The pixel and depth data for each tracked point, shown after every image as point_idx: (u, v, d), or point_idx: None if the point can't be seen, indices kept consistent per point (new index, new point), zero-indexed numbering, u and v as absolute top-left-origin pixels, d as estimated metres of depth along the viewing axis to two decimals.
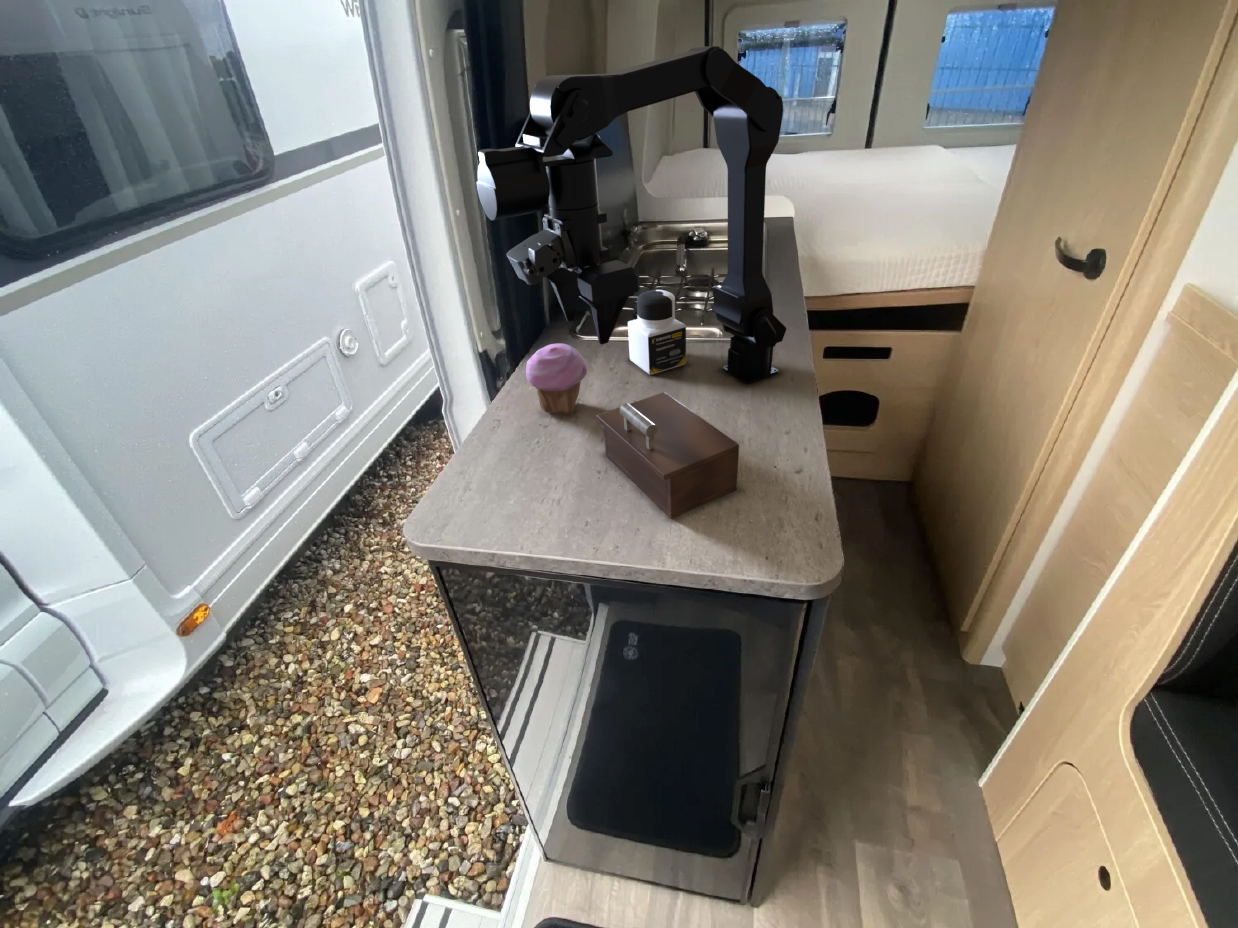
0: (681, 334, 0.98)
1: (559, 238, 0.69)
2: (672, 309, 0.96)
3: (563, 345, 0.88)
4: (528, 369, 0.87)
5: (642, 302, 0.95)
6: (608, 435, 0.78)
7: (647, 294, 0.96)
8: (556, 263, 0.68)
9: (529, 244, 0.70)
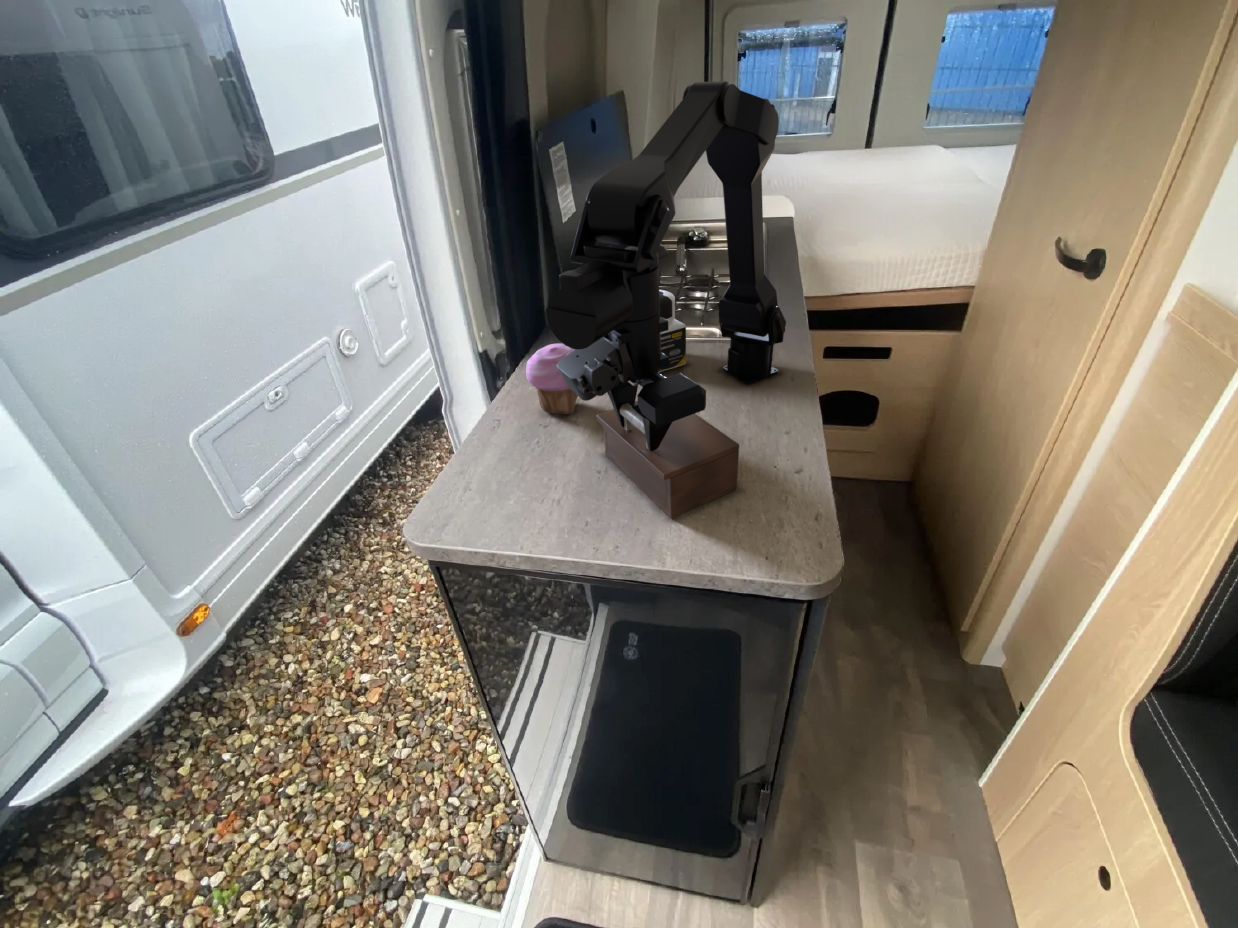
0: (681, 334, 0.98)
1: (616, 351, 0.62)
2: (672, 309, 0.96)
3: (563, 345, 0.88)
4: (528, 369, 0.87)
5: None
6: (608, 435, 0.78)
7: None
8: (614, 380, 0.61)
9: (582, 355, 0.63)
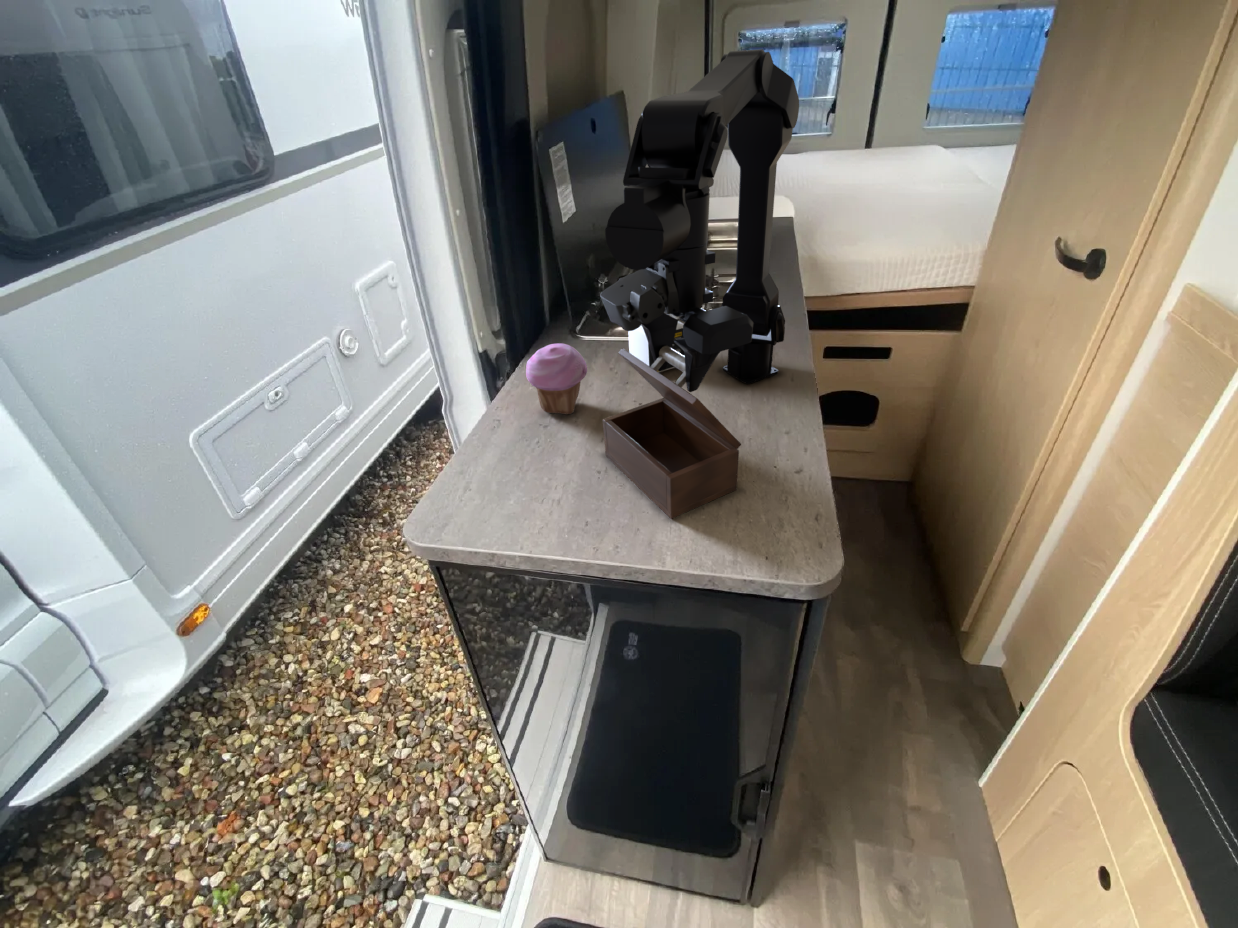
0: (681, 334, 0.98)
1: (663, 280, 0.61)
2: None
3: (563, 345, 0.88)
4: (528, 369, 0.87)
5: None
6: (608, 435, 0.78)
7: None
8: (660, 308, 0.60)
9: (627, 285, 0.62)
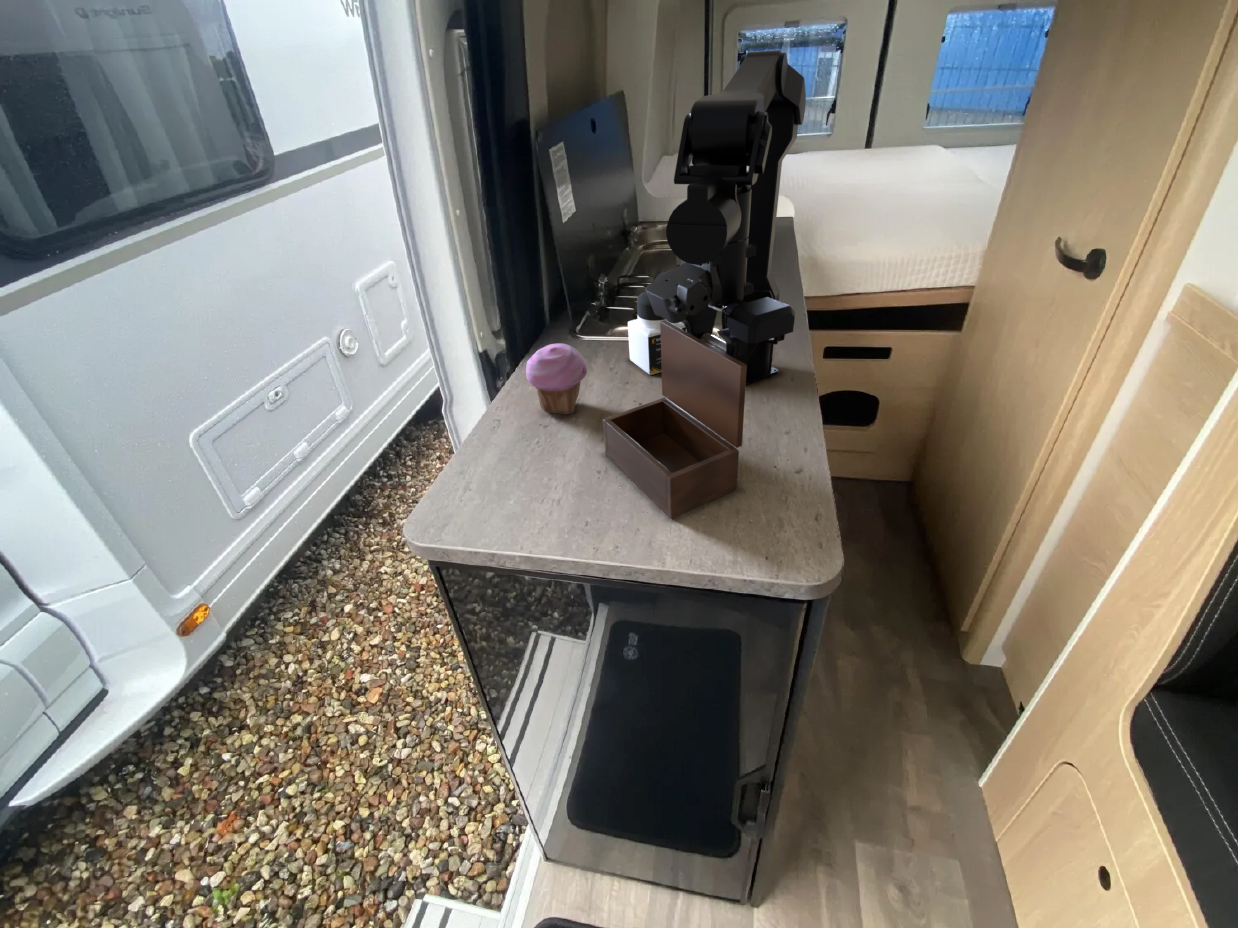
0: None
1: (707, 273, 0.63)
2: None
3: (563, 345, 0.88)
4: (528, 369, 0.87)
5: (642, 302, 0.95)
6: (608, 435, 0.78)
7: (647, 294, 0.96)
8: (706, 300, 0.62)
9: (672, 279, 0.64)
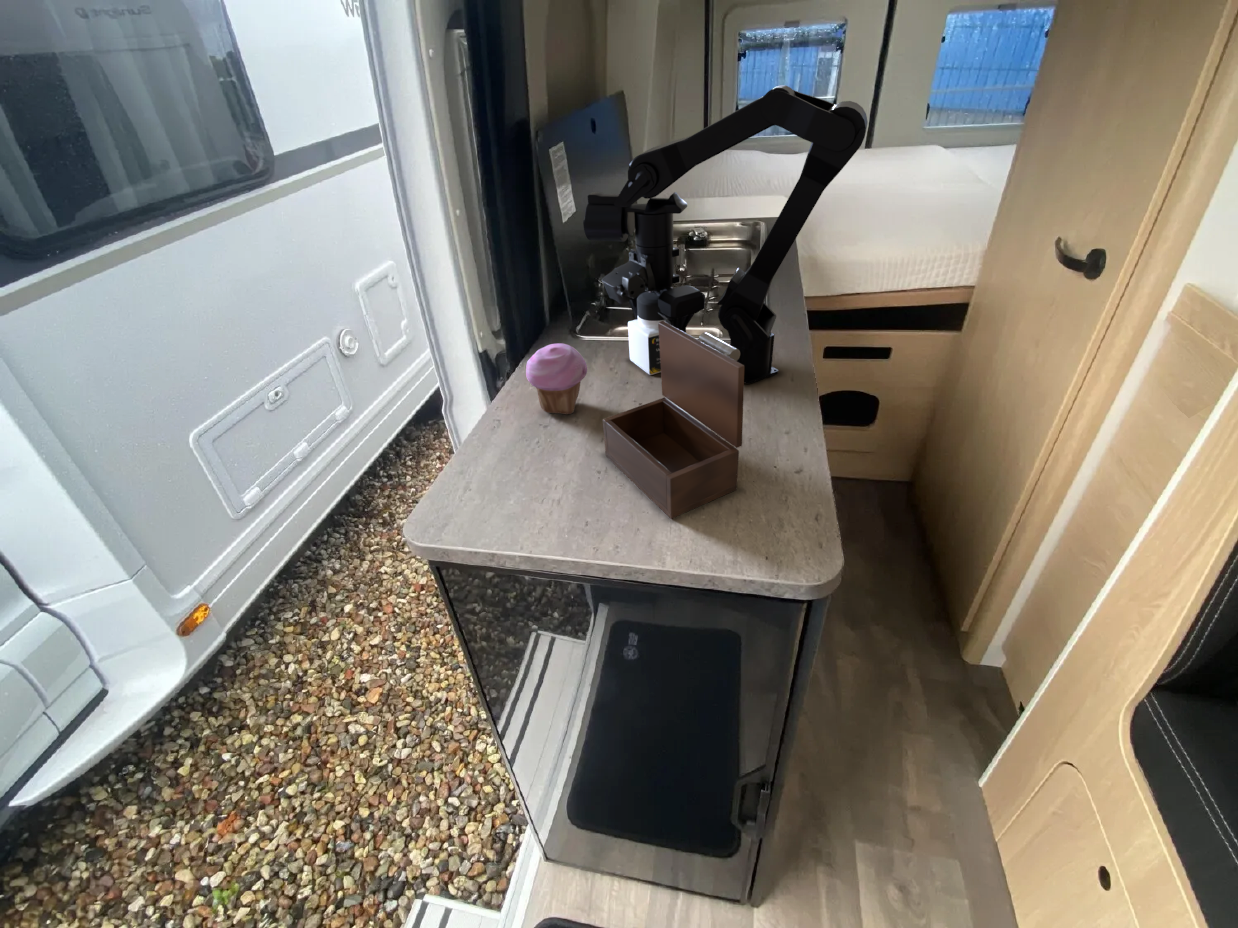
0: None
1: (644, 268, 0.90)
2: None
3: (563, 345, 0.88)
4: (528, 369, 0.87)
5: (642, 302, 0.95)
6: (608, 435, 0.78)
7: (647, 294, 0.96)
8: (642, 287, 0.89)
9: (620, 272, 0.92)
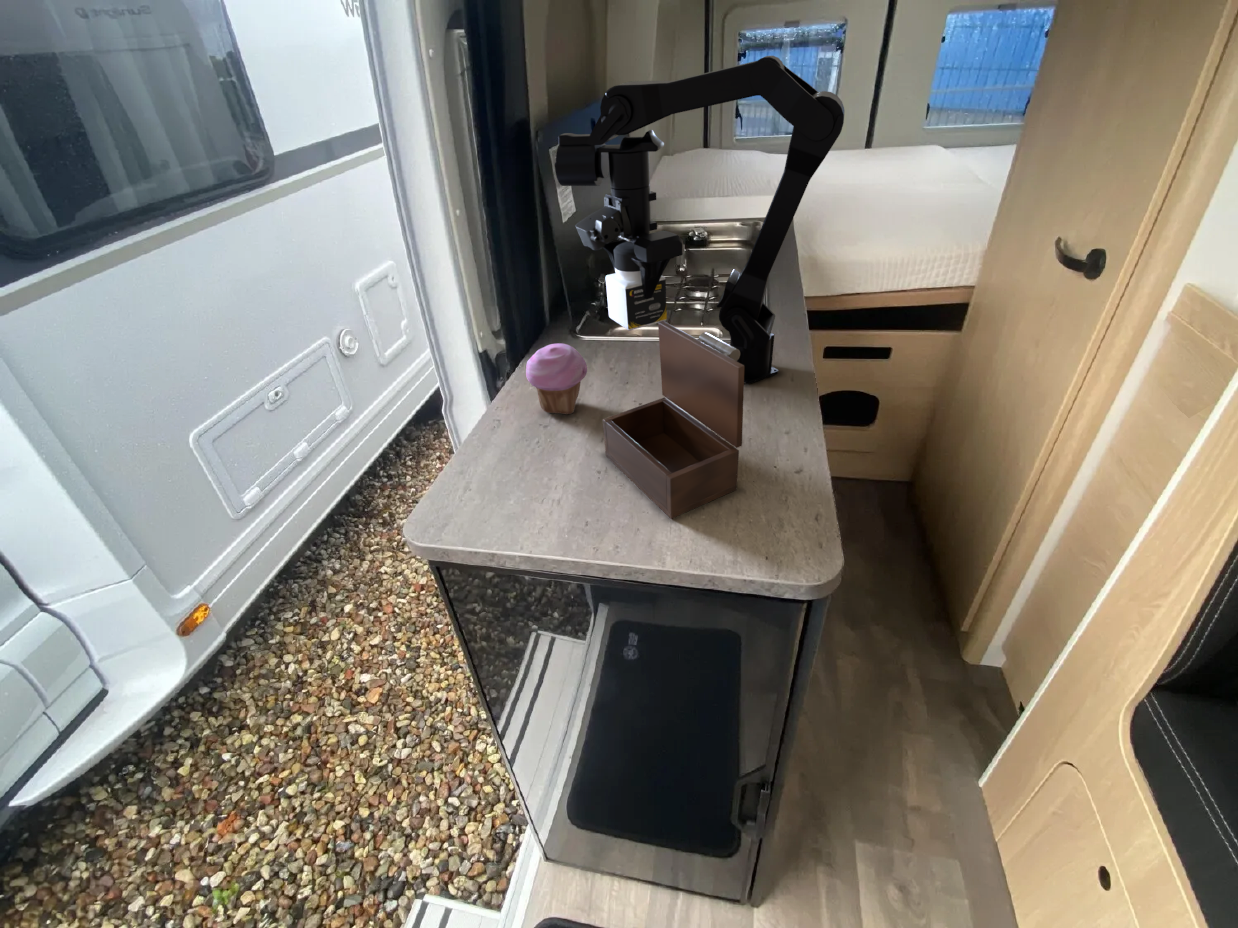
0: (661, 287, 0.94)
1: (619, 212, 0.86)
2: None
3: (563, 345, 0.88)
4: (528, 369, 0.87)
5: (619, 252, 0.91)
6: (608, 435, 0.78)
7: (624, 244, 0.92)
8: (617, 232, 0.85)
9: (594, 217, 0.87)
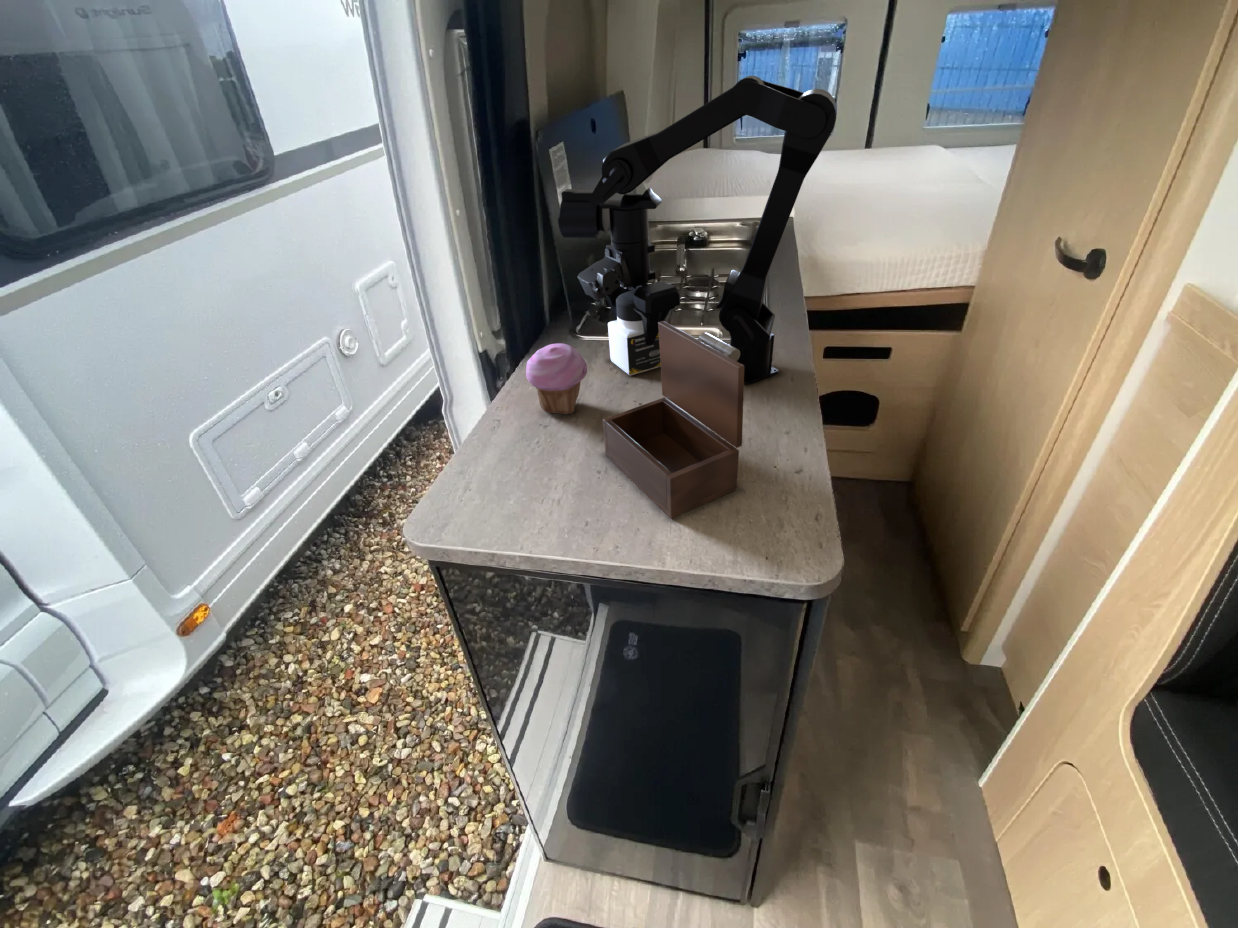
0: None
1: (619, 264, 0.90)
2: None
3: (563, 345, 0.88)
4: (528, 369, 0.87)
5: (621, 302, 0.95)
6: (608, 435, 0.78)
7: (626, 295, 0.96)
8: (617, 283, 0.89)
9: (595, 269, 0.92)
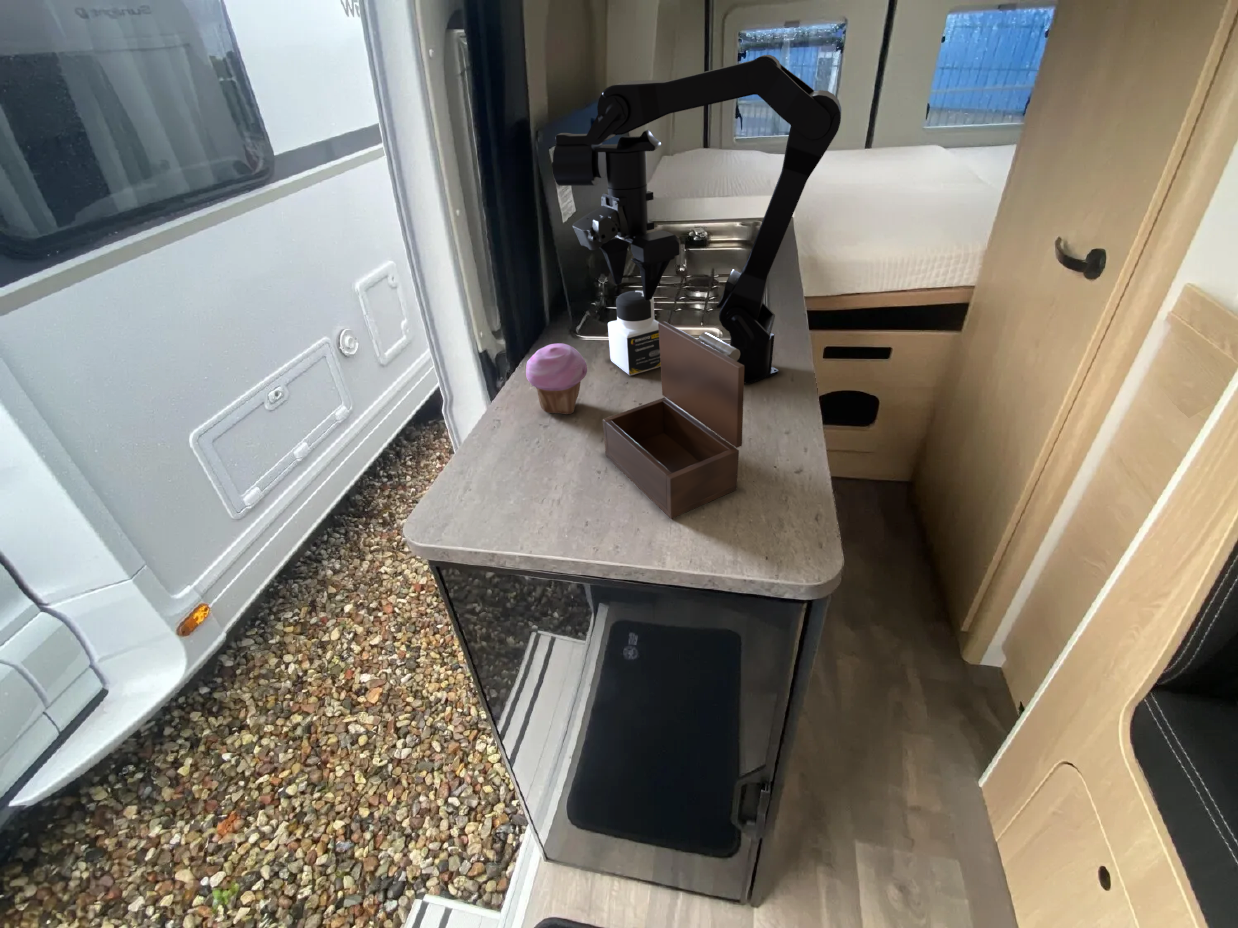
0: None
1: (616, 212, 0.86)
2: (651, 310, 0.96)
3: (563, 345, 0.88)
4: (528, 369, 0.87)
5: (621, 302, 0.95)
6: (608, 435, 0.78)
7: (626, 295, 0.96)
8: (614, 231, 0.85)
9: (591, 217, 0.87)
